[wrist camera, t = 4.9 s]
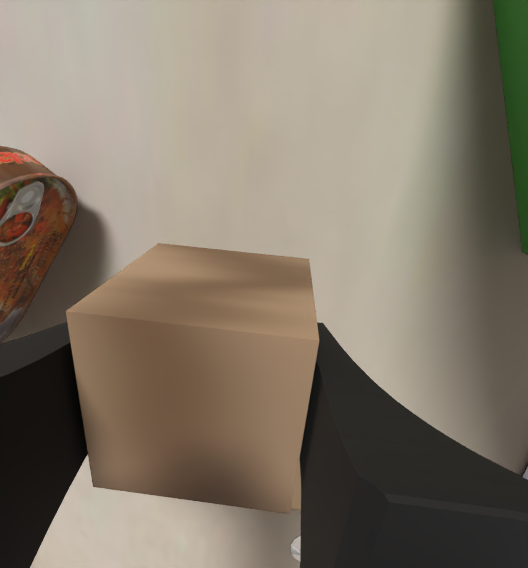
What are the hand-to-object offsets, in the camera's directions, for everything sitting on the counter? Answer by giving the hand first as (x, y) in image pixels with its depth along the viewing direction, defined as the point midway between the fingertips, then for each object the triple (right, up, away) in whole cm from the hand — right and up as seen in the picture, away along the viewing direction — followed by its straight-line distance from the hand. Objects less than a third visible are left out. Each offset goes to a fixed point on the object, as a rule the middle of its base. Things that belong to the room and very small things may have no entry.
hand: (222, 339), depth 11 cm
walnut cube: (0, +1, +1) cm, 1 cm away
